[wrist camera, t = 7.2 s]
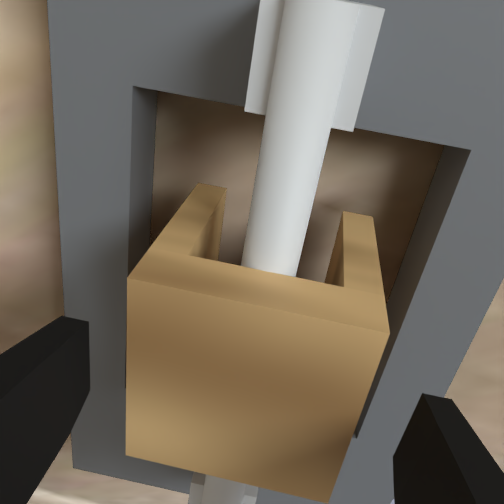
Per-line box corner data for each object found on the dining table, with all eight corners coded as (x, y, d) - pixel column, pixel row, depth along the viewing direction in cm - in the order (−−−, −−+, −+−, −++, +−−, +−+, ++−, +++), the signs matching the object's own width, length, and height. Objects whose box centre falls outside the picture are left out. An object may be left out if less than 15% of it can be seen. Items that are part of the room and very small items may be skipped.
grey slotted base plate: (370, 488, 20) (382, 630, 15) (94, 427, 20) (30, 548, 16) (630, -88, 10) (873, -150, 6) (83, -179, 11) (-93, -303, 6)
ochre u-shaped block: (331, 357, 15) (328, 503, 11) (185, 325, 15) (125, 454, 11) (372, 216, 13) (390, 333, 8) (198, 182, 13) (127, 277, 9)
